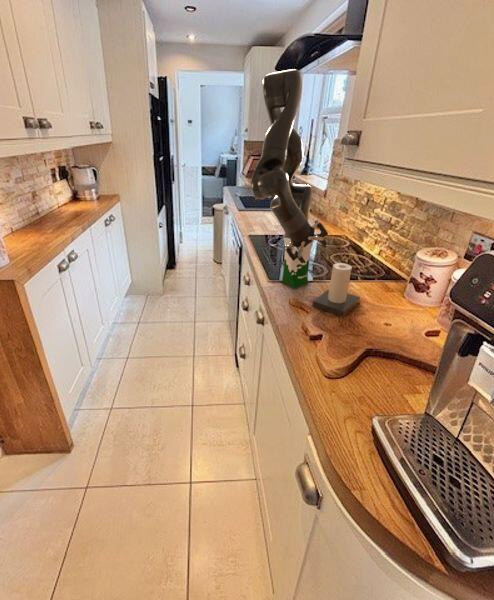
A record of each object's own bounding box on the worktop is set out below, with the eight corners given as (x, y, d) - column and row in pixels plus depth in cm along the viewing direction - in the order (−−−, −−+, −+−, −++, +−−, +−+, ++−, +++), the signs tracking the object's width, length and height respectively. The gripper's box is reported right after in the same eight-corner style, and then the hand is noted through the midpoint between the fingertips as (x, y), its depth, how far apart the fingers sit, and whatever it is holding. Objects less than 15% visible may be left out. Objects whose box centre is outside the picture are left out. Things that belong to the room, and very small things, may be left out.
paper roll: (332, 293, 114) (337, 261, 108) (348, 298, 111) (354, 265, 105) (324, 299, 110) (329, 266, 105) (341, 305, 107) (347, 271, 101)
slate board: (329, 292, 119) (330, 287, 118) (359, 302, 113) (360, 296, 112) (312, 306, 111) (312, 300, 110) (343, 317, 104) (344, 311, 103)
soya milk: (293, 276, 132) (298, 228, 123) (311, 284, 126) (317, 233, 116) (278, 282, 128) (281, 232, 118) (295, 290, 121) (300, 238, 112)
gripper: (307, 203, 103) (325, 235, 114) (271, 232, 106) (292, 261, 116) (319, 213, 98) (337, 246, 108) (280, 243, 100) (302, 272, 111)
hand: (314, 254), depth 112 cm, fingers open, 8 cm apart
